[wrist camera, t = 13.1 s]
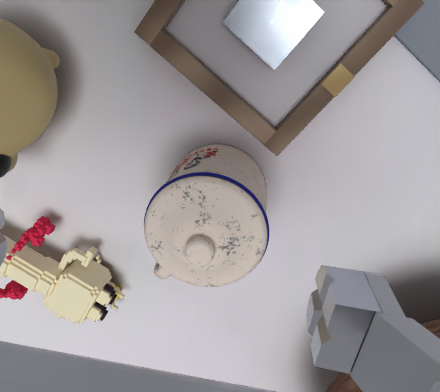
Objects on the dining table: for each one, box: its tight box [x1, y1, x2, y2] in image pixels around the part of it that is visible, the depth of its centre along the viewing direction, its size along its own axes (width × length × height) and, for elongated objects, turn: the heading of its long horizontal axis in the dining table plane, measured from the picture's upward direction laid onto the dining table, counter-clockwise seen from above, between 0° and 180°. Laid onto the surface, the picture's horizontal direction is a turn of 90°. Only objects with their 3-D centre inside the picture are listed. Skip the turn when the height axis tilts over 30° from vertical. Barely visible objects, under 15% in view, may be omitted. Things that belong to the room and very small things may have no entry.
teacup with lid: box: [144, 144, 269, 287], centre depth 31 cm, size 12×9×12 cm
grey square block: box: [222, 0, 325, 70], centre depth 29 cm, size 5×5×3 cm
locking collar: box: [135, 0, 424, 156], centre depth 29 cm, size 15×15×2 cm
